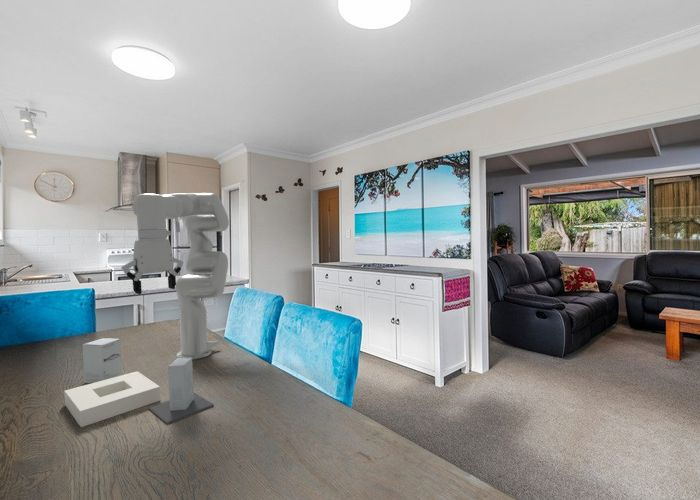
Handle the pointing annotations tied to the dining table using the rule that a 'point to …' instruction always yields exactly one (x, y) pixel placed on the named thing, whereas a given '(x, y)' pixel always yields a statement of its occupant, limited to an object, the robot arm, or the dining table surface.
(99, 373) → the supplement box
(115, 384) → the bore holder
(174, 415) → the rubber mat
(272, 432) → the dining table surface
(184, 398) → the skincare box
